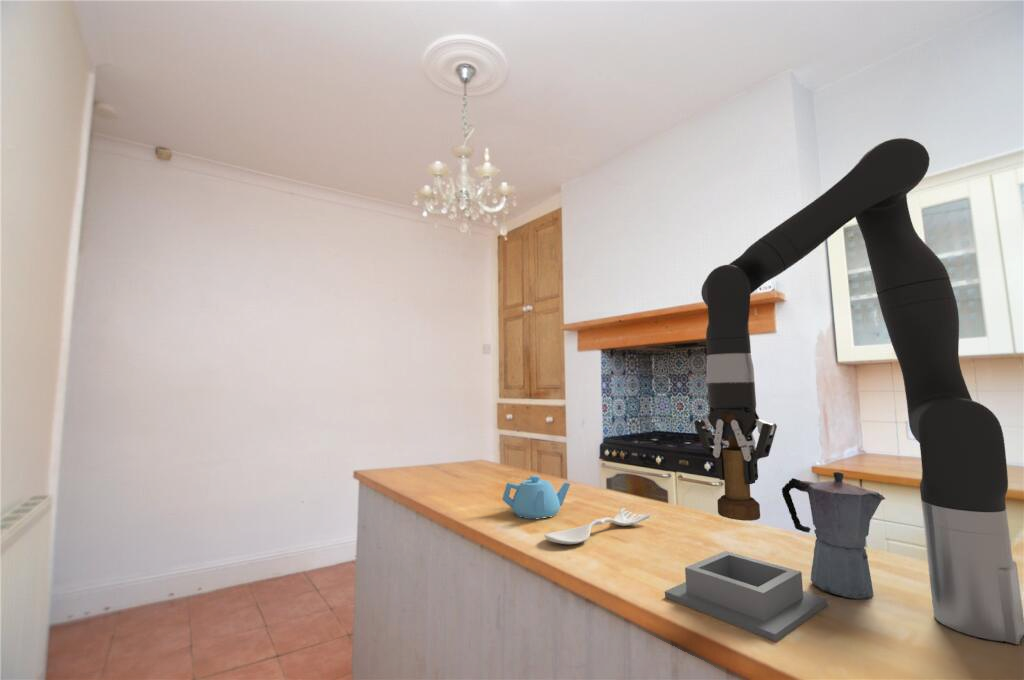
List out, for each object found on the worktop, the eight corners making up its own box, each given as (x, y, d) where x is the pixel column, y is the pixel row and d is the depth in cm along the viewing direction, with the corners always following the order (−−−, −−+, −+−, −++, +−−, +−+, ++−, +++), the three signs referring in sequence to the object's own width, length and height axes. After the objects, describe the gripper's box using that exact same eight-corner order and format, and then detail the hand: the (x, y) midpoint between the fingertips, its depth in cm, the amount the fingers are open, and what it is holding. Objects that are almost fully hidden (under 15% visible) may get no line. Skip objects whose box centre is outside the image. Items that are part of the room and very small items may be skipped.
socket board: (827, 604, 75) (824, 572, 76) (775, 641, 65) (773, 603, 65) (721, 571, 90) (719, 544, 90) (665, 597, 79) (663, 566, 80)
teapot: (530, 505, 145) (529, 469, 146) (572, 511, 136) (571, 474, 137) (499, 515, 133) (498, 477, 135) (542, 524, 124) (541, 482, 125)
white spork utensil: (652, 526, 121) (651, 512, 122) (563, 554, 102) (563, 537, 102) (624, 518, 129) (623, 506, 129) (536, 543, 109) (536, 528, 109)
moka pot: (898, 610, 73) (884, 479, 75) (785, 587, 82) (776, 471, 84) (893, 589, 81) (881, 471, 83) (790, 570, 90) (782, 464, 92)
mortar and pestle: (766, 521, 75) (758, 409, 77) (723, 520, 76) (716, 409, 78) (753, 511, 81) (746, 407, 83) (714, 509, 83) (708, 407, 85)
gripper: (783, 379, 78) (791, 485, 76) (704, 381, 89) (710, 473, 87) (761, 379, 73) (769, 491, 72) (681, 381, 85) (686, 478, 83)
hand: (736, 480), depth 79 cm, fingers closed on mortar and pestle, 4 cm apart
